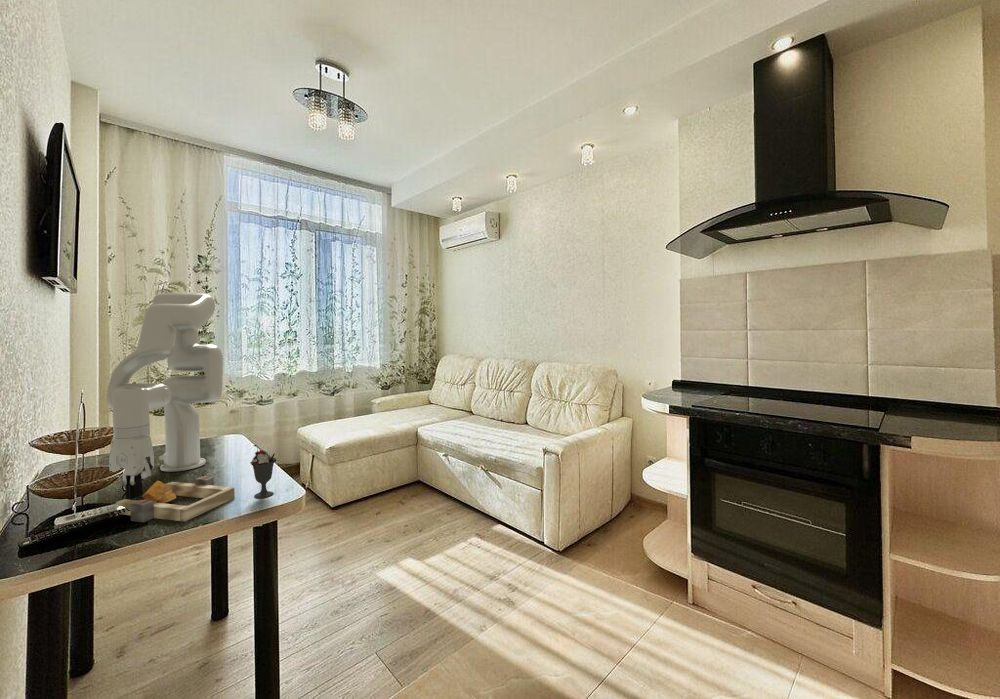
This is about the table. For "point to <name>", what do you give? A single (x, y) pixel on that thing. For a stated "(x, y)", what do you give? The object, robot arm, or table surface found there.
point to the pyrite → (159, 493)
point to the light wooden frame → (200, 489)
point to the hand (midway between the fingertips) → (134, 497)
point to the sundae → (263, 471)
